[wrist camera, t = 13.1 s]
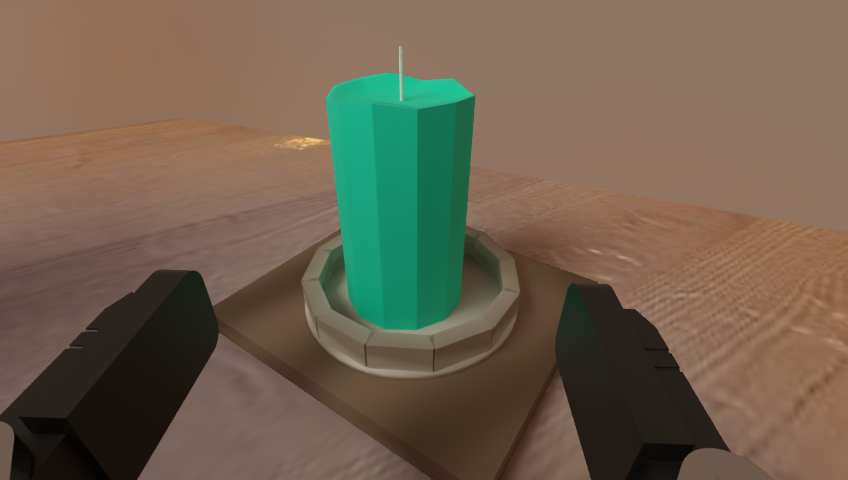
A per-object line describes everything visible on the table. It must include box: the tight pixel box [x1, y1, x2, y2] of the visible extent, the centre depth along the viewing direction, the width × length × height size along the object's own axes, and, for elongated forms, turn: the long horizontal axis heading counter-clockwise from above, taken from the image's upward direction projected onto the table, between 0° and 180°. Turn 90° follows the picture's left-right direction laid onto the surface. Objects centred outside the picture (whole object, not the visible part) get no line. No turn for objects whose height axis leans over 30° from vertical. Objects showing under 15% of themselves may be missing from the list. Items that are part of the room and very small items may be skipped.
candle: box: [326, 46, 475, 330], centre depth 19 cm, size 6×6×12 cm
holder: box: [213, 226, 598, 480], centre depth 23 cm, size 16×14×3 cm
